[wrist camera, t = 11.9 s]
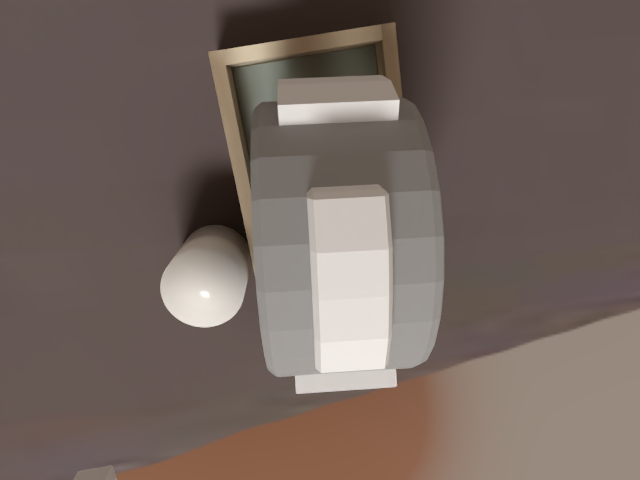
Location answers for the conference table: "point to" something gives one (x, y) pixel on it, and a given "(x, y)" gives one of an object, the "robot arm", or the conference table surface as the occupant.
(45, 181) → the conference table surface
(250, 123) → the tray
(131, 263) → the conference table surface
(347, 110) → the alarm clock
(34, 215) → the conference table surface
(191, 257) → the white rounded cylinder
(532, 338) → the conference table surface
